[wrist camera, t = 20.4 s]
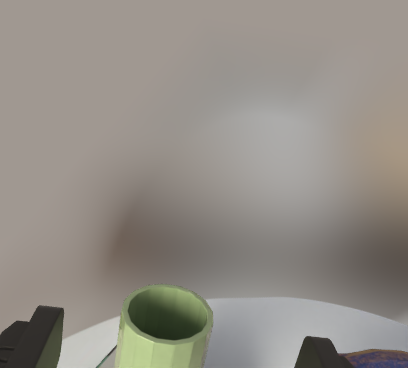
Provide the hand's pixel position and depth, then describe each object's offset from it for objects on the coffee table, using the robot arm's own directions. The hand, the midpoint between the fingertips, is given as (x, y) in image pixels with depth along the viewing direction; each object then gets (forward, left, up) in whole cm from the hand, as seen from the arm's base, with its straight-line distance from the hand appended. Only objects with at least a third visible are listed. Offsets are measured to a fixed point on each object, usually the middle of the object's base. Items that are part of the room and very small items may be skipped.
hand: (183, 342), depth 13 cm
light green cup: (-4, +10, -16) cm, 20 cm away
